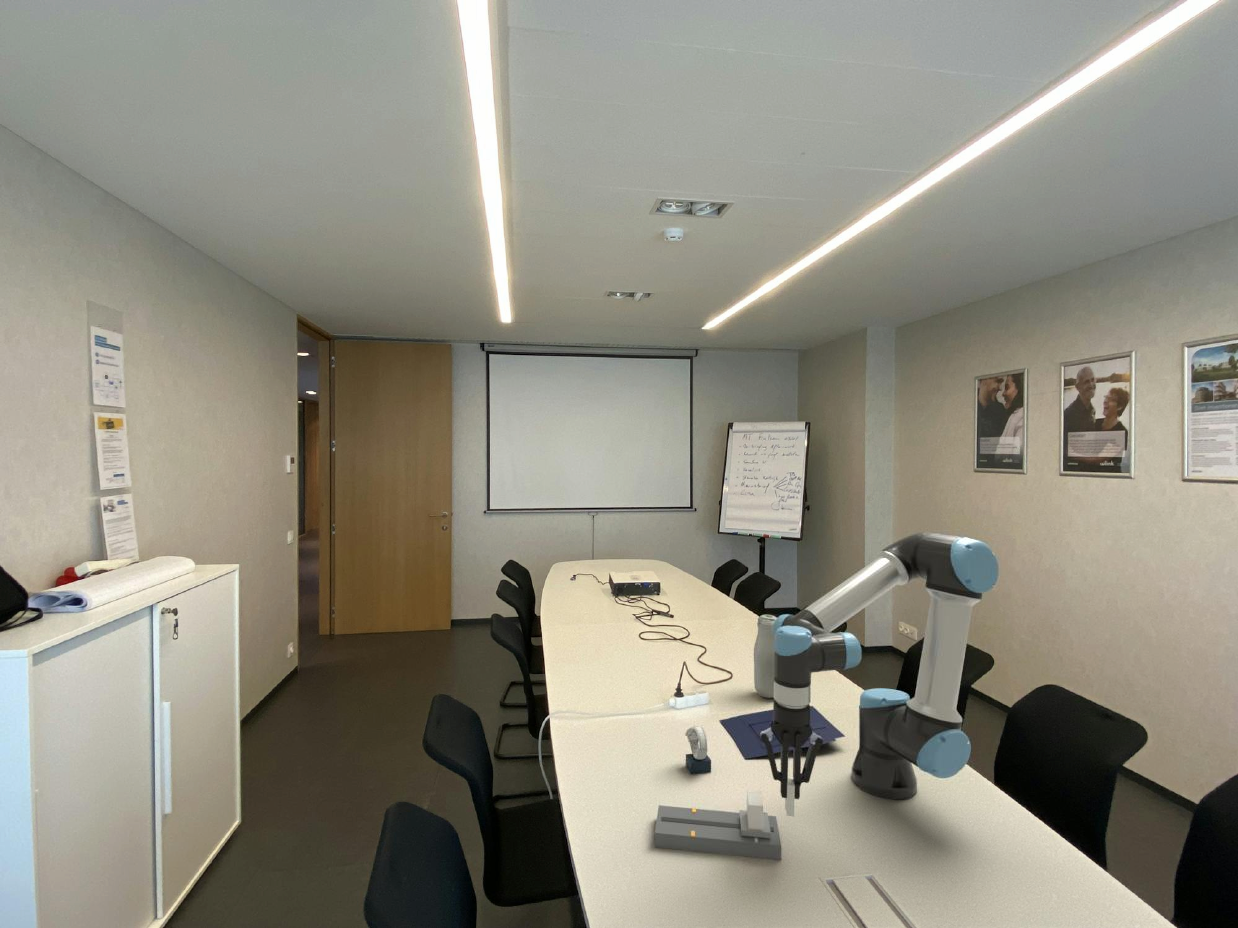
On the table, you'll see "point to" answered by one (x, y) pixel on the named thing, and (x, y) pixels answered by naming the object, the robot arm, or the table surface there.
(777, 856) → the console
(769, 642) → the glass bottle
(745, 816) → the fader tab
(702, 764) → the watch
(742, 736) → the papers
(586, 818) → the table surface
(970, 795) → the table surface
